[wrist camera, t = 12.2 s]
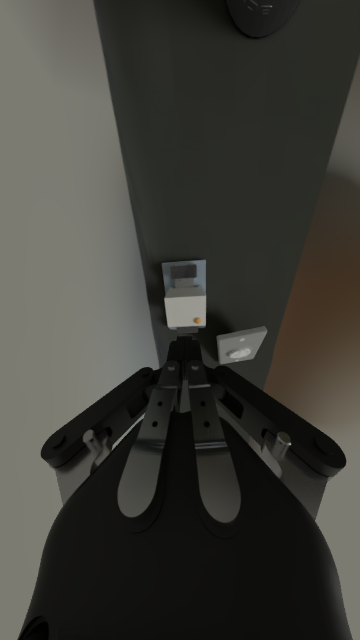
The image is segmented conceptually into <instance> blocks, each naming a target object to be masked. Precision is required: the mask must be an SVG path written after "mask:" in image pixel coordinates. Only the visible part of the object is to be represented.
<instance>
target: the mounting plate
mask: <svg viewBox="0 0 360 640" xmlns="http://www.w3.org/2000/svg"><path fill="white" fill-rule="evenodd" d="M188 262H193V264H196V265H197V277H196V278H194V287H198V286H200V285H201V286H202V288H203V290H204V292H205V293H206V260H205V259H204V260H192V261H180V262H168V263H162V270H163V278H164V286H165V294H167V291H168V289H169V287H173V288H176V287H175V279H171V271H170V267H171V266H174V265H173V264H176V263H188ZM198 328H205V326H198ZM170 329H176V327H170Z"/></svg>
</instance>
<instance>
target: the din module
mask: <svg viewBox="0 0 360 640" xmlns="http://www.w3.org/2000/svg"><path fill="white" fill-rule="evenodd" d="M164 300H165V308H166V316H167V323H168V327H184V326H206V295H205V292H204V290H203V288H202V286H201V285H200V286H198V287H187V288H173V287H169V289H168V291H167V294H166V296H165V298H164Z"/></svg>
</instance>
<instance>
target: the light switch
mask: <svg viewBox="0 0 360 640" xmlns="http://www.w3.org/2000/svg"><path fill="white" fill-rule="evenodd" d="M266 333H267V329H266V328H265V326H263V327H258V328H253V329H248V330H243V331H238V332H233V333H228V334H224V335H219V336H217V347H218V358H219V363H220V364H225V363H231V362H237V361H243V360H248V359H253V358H254V356H255V354H256V352H257V350H258V348H259V346H260V345H261V343H262V341H263V339H264V337H265V335H266Z"/></svg>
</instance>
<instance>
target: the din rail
mask: <svg viewBox="0 0 360 640" xmlns="http://www.w3.org/2000/svg"><path fill="white" fill-rule="evenodd" d="M173 265H174V266H171V267H170V271H171V279H175V287H176V288H187V287H194V278H196V277H197V265H196V264H193V262H188V263H176V264H173ZM176 330H177V333H198V326H184V327H176Z"/></svg>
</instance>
